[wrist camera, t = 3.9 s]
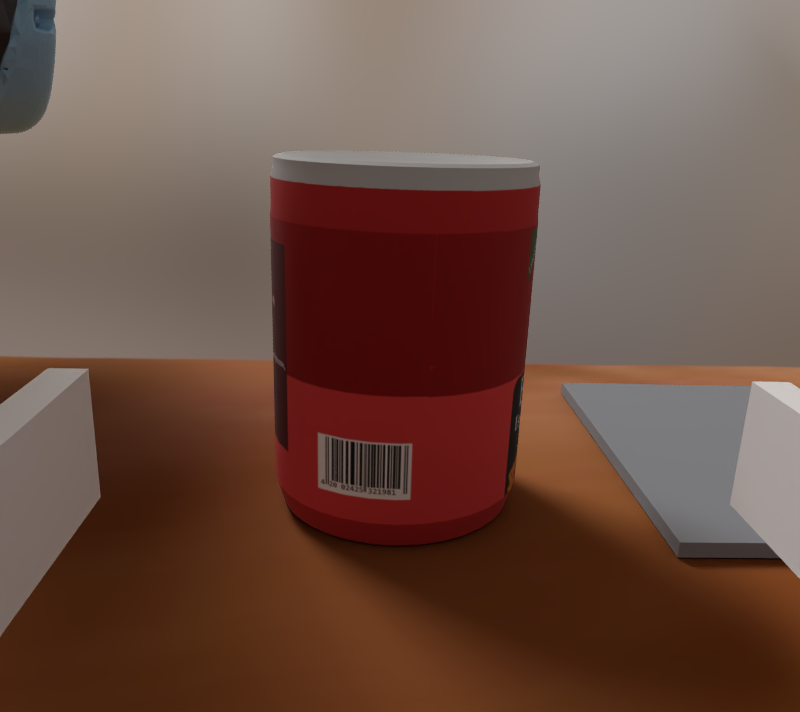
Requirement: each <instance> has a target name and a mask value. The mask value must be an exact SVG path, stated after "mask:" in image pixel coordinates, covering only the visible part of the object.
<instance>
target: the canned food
mask: <svg viewBox="0 0 800 712" xmlns="http://www.w3.org/2000/svg"><path fill="white" fill-rule="evenodd" d="M539 170H540V165H539V164H537V163H535V162H533V161H530V160H524V159H515V158H505V157H492V156H477V155H460V154H439V153H415V152H383V151H289V152H280V153H278V154H276V155H274V156H272V172H271V176H270V187H271V210H270V228H271V270H272V314H273V354H274V355H273V357H274V401H275V444H276V475H277V478H278V481H279V484H280V486H281V489H282V492H283V495H284V497H285V500H286V503H287V506H288V507H289V508H290V509H291V511H292V512H293V513H294V514H295V515H296V516H297V517H298V518H300V519H301V520H303V521H304V522H305V523H307V524H308V525H310V526H312V527H314V528H316V529H318V530H321V531H323V532H325V533H327V534H329V535H333V536H336V537H339V538H343V539H346V540H350V541H356V542H361V543H367V544H375V545H390V546H404V545H422V544H429V543H436V542H442V541H446V540H450V539H454V538H457V537H461V536H463V535H466V534H468V533H470V532H473V531H475V530H477V529H479V528H481V527H483V526H484V525H486V524H487V523H489V522H490V521H492V520H493V519H494V518H495V517H496V516H497V515H498V514H499V512H500V511H501V510H502V508H503V506H504V503H505V501H506V499H507V496H508V494H509V492H510V490H511V487H512V484H513V482H514V478H515V467H516V456H517V445H518V434H519V424H520V413H521V402H522V391H523V380H524V369H525V358H526V347H527V337H528V326H529V315H530V303H531V293H532V281H533V271H534V260H535V250H536V239H537V228H538V208H539V196H540V180H539Z"/></svg>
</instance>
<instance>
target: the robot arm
mask: <svg viewBox="0 0 800 712" xmlns="http://www.w3.org/2000/svg"><path fill="white" fill-rule="evenodd" d="M55 5H56V0H0V134H8V133H9V134H11V133H21V132H24V131H27V130H29V129H31V128H32V127H33V126H35V125H36V124H37V123H38V122H39V121H40V120H41V118H42V117H43V115H44V114H45V111H46V109H47V106H48V103H49V99H50V94H51V89H52V82H53V73H54V63H55V46H56V45H55V44H56V30H55V24H54V20H53V19H54V17H55ZM100 497H101V495H100V485H99V474H98V464H97V453H96V443H95V432H94V422H93V412H92V401H91V391H90V380H89V370H88V369H71V368H47V369H46V370H45V371H43V372H42V373H41V374H40V375H38V376H37V377H36V378H34V379H33V380H32V381H30V382H29V383H28V384H26V385H25V386H24V387H22V388H21V389H20V390H19V391H17V392H16V393H15V394H13V395H12V396H11V397H9V398H8V399H7V400H5V401H4V402H3V403H1V404H0V636H1V635H2V633H3V632H4V631H5V629H6V628H7V626H8V625H9V624H10V622H11V621H12V619H13V618H14V617H15V615H16V614H17V613H18V611H19V610H20V608H21V607H22V606H23V604H24V603H25V601H26V600H27V599H28V597H29V596H30V594H31V593H32V592H33V590H34V589H35V588H36V586H37V585H38V583H39V582H40V581H41V579H42V578H43V576H44V575H45V574H46V572H47V571H48V569H49V568H50V567H51V565H52V564H53V563H54V561H55V560H56V558H57V557H58V556H59V554H60V553H61V551H62V550H63V549H64V547H65V546H66V544H67V543H68V542H69V540H70V539H71V538H72V536H73V535H74V533H75V532H76V531H77V529H78V528H79V526H80V525H81V524H82V522H83V521H84V519H85V518H86V517H87V515H88V514H89V513H90V511H91V510H92V508H93V507H94V506H95V504H96V503H97V501H98V500H99V499H100ZM730 505H731V506H732V507H733V508H734V509H735V510H736V511H737V512H738V514H739V515H740V516H741V517H742V518H743V519H744V520H745V521H746V522H747V523H748V524H749V525H750V526H751V527H752V528H753V529H754V531H755V532H756V533H757V534H758V535H759V536H760V537H761V538H762V539H763V540H764V541H765V542H766V543H767V544H768V545H769V546H770V548H771V549H772V550H773V551H774V552H775V553H776V554H777V555H778V556H779V557H780V558H781V559H782V560H783V561H784V562H785V564H786V565H787V566H788V567H789V568H790V569H791V570H792V571H793V572H794V573H795V574H796V575H797V576H798V577H799V578H800V389H799V388H798V387H796V386H795V385H793V384H791V383H790V382H752V386H751V391H750V396H749V402H748V407H747V413H746V418H745V424H744V429H743V435H742V440H741V446H740V451H739V457H738V462H737V467H736V473H735V478H734V484H733V489H732V495H731V500H730Z"/></svg>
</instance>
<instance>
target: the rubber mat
mask: <svg viewBox="0 0 800 712" xmlns="http://www.w3.org/2000/svg"><path fill="white" fill-rule="evenodd" d="M798 388H799V389H800V387H798ZM750 391H751V386H706V385H652V384H597V383H562V389H561V393H562V395H563V396H564V398H565V399H566V401H567V402H568V403H569V405H570V406H571V408H572V409H573V410H574V412H575V413H576V415H577V416H578V417H579V419H580V420H581V422H582V423H583V425H584V426H585V427H586V429H587V430H588V432H589V433H590V434H591V436H592V437H593V439H594V440H595V441H596V443H597V444H598V446H599V447H600V449H601V450H602V451H603V453H604V454H605V456H606V457H607V458H608V460H609V461H610V463H611V464H612V466H613V467H614V468H615V470H616V471H617V473H618V474H619V475H620V477H621V478H622V480H623V481H624V482H625V484H626V485H627V487H628V488H629V490H630V491H631V492H632V494H633V495H634V497H635V498H636V499H637V501H638V502H639V504H640V505H641V506H642V508H643V509H644V511H645V512H646V514H647V515H648V516H649V518H650V519H651V521H652V522H653V523H654V525H655V526H656V528H657V529H658V530H659V532H660V533H661V535H662V536H663V538H664V539H665V540H666V542H667V543H668V545H669V546H670V547H671V549H672V550H673V552H674V553H675V555H676V556H677V557H691V558H780V557H779V556H778V555H777V554H776V553H775V552H774V551H773V550H772V549H771V548H770V546H769V545H768V544H767V543H766V542H765V541H764V540H763V539H762V538H761V537H760V536H759V535H758V534H757V533H756V532H755V531H754V529H753V528H752V527H751V526H750V525H749V524H748V523H747V522H746V521H745V520H744V519H743V518H742V517H741V516H740V515H739V514H738V512H737V511H736V510H735V509H734V508H733V507H732V506H731V505H730V500H731V495H732V489H733V484H734V478H735V473H736V467H737V462H738V457H739V451H740V446H741V440H742V435H743V429H744V424H745V418H746V413H747V407H748V402H749V396H750Z"/></svg>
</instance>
